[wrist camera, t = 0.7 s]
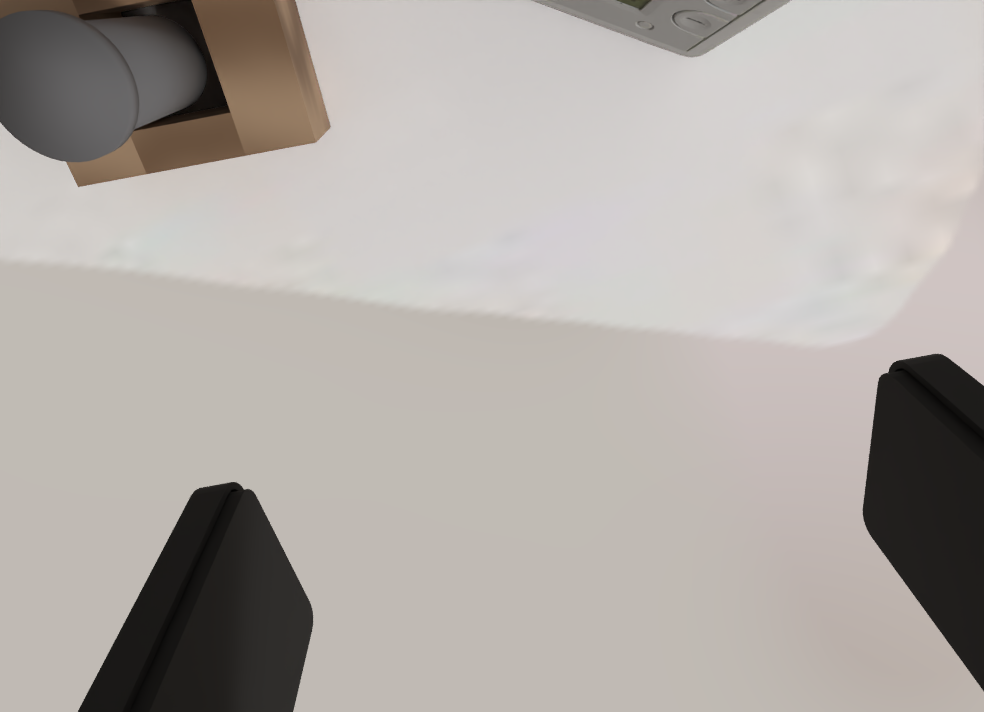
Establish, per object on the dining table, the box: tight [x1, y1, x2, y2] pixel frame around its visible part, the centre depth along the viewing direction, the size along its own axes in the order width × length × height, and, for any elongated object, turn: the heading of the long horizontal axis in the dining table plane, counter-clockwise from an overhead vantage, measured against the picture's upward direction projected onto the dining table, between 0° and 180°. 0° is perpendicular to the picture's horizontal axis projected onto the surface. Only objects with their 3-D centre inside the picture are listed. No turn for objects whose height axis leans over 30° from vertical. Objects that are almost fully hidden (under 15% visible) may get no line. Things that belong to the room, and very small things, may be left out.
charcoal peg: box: [0, 10, 207, 162], centre depth 26 cm, size 5×5×9 cm
